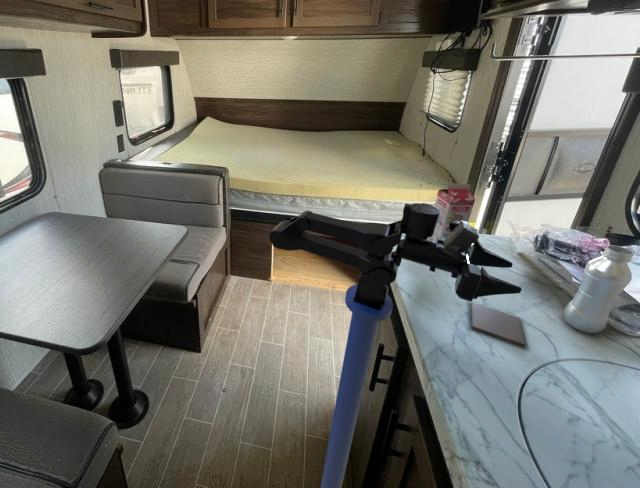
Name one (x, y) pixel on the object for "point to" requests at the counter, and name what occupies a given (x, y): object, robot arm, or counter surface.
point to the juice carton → (452, 207)
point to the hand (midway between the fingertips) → (516, 277)
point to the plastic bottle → (599, 290)
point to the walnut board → (497, 324)
